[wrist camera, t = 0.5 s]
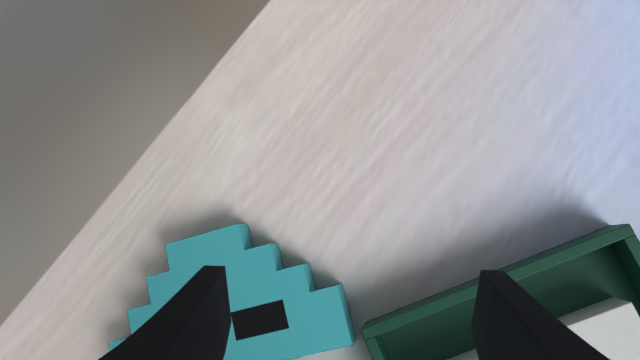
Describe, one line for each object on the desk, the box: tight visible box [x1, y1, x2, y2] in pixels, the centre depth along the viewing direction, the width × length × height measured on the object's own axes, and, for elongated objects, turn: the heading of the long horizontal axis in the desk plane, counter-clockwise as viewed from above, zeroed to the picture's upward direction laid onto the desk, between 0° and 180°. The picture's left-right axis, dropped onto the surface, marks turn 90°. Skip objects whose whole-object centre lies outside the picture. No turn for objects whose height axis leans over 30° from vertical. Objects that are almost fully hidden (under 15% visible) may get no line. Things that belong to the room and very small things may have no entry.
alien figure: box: [108, 224, 356, 360], centre depth 37 cm, size 20×2×20 cm
